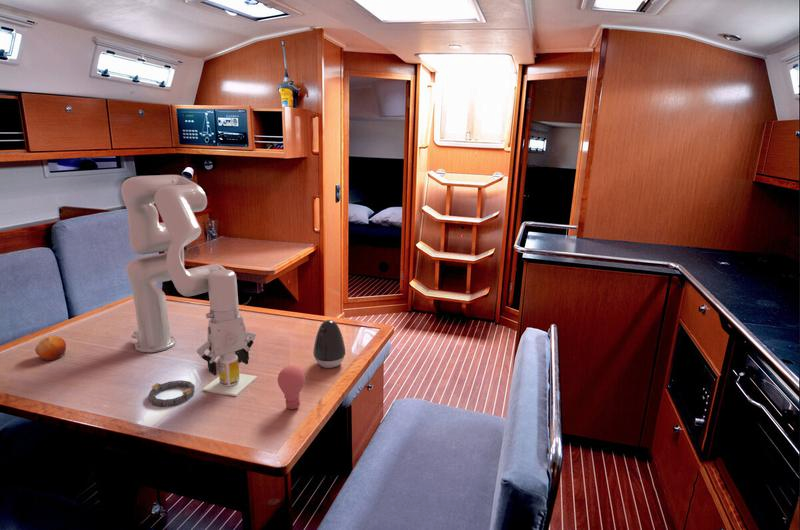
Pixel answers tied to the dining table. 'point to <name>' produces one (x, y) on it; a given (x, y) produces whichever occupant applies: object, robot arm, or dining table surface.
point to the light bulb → (291, 385)
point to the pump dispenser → (329, 345)
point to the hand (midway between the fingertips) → (229, 368)
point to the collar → (172, 384)
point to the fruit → (51, 348)
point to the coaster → (230, 390)
